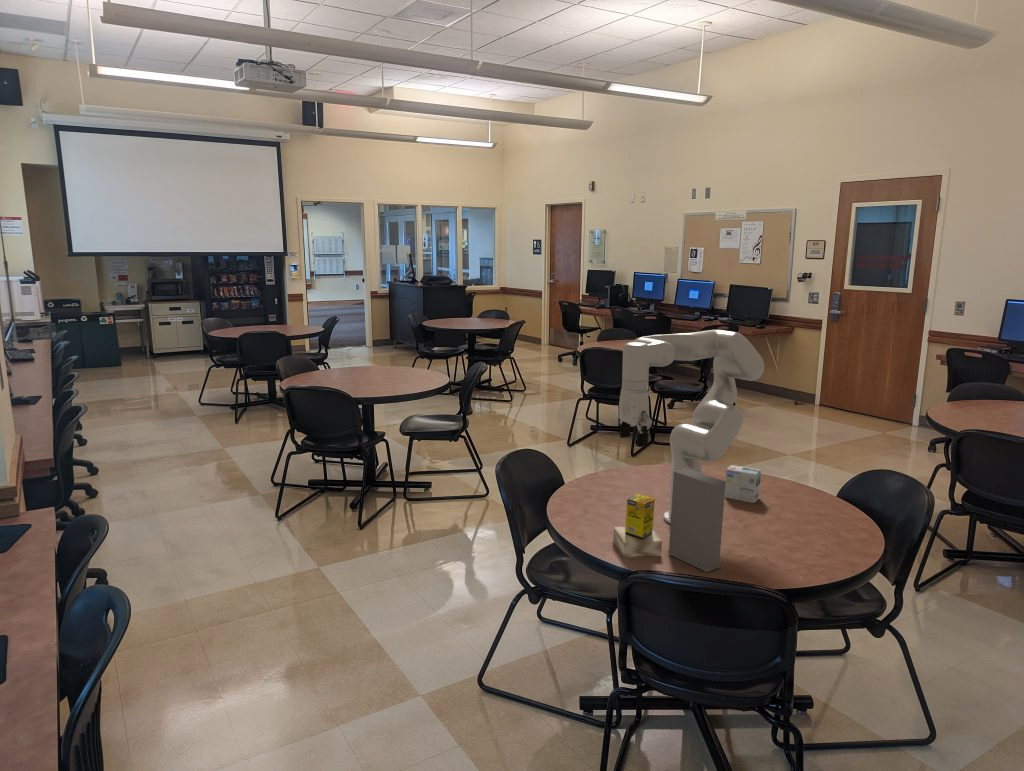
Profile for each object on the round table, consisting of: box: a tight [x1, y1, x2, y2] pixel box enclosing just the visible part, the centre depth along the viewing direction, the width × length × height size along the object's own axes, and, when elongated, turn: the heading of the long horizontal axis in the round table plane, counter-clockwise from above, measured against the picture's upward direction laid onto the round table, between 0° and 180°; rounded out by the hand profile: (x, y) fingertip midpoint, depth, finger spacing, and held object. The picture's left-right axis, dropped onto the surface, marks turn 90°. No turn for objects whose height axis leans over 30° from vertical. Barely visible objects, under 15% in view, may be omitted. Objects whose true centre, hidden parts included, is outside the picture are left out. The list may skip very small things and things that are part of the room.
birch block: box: [612, 526, 663, 558], centre depth 201 cm, size 11×11×5 cm
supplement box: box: [624, 493, 655, 539], centre depth 199 cm, size 6×6×11 cm
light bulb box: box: [724, 464, 762, 504], centre depth 243 cm, size 11×7×11 cm, turn 57°
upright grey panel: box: [667, 468, 726, 573], centre depth 192 cm, size 14×6×25 cm, turn 35°
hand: (633, 441), depth 205 cm, fingers open, 9 cm apart
